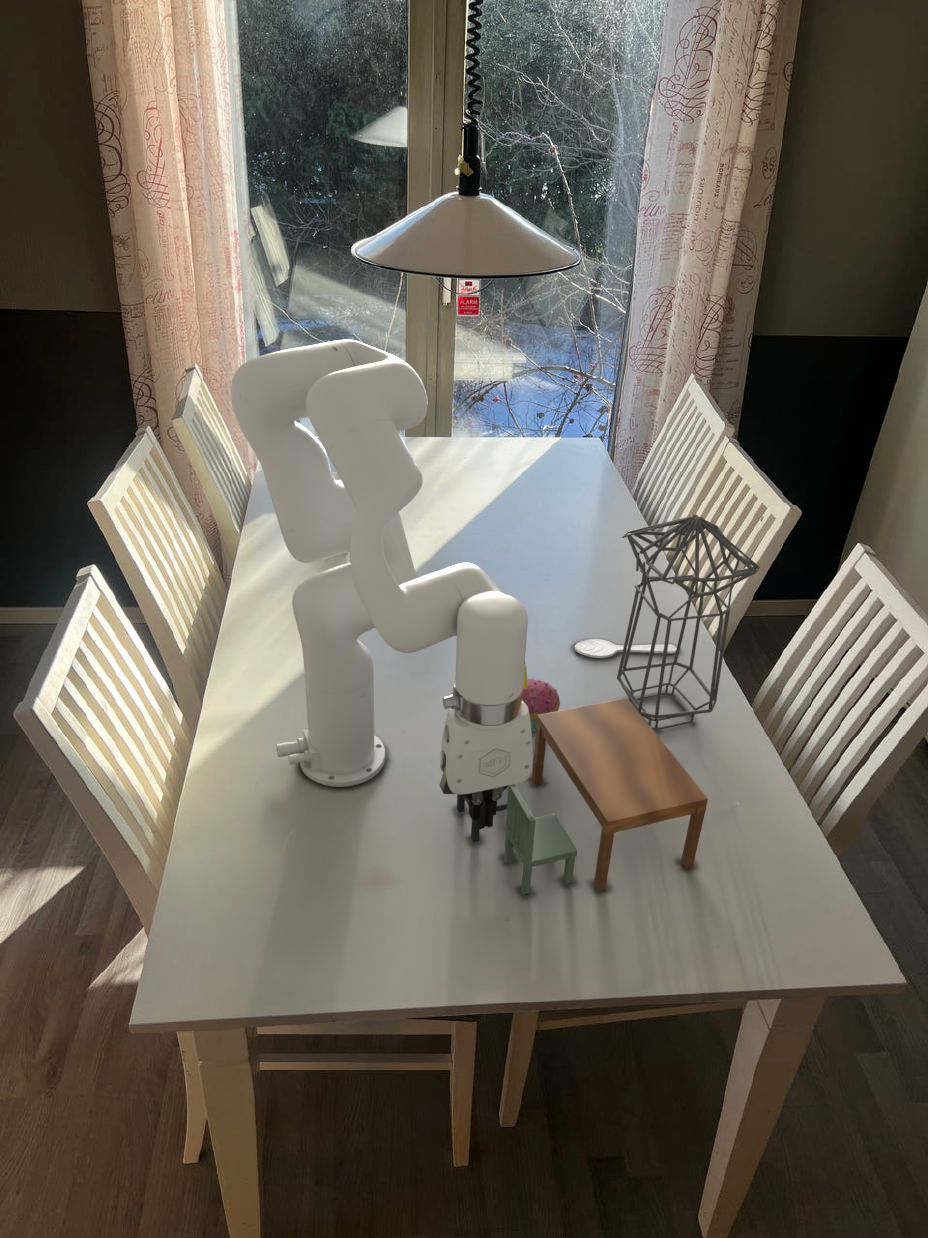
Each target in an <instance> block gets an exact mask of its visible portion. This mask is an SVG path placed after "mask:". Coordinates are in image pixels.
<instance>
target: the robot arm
mask: <svg viewBox="0 0 928 1238" xmlns="http://www.w3.org/2000/svg"><path fill="white" fill-rule="evenodd" d="M230 387H231V388H230V395H231V403H232V409H233V413H234V415H235V419H236V421H237V423H238V426H239V427H240V430H241V432H242V434H243V435H244V438H245V440H246V441H247V442H248V444H249V446H250V447H251V449H252V451H253V452H254V455H255V456H256V458H257V460H258V462H259V464H260V466H261V469H262V472H263V475H264V478H265V482H266V485H267V489H268V492H269V495H270V500H271V503H272V506H273V509H274V512H275V515H276V519H277V522H278V526H279V529H280V533H281V535H282V538H283V541H284V543H285V546H286V548H287V550H288V552H289V553H290V555H291V556H292V557H293V559H295V560H296V561H297V562H300V563H305V564H309V563H316V562H317V563H318V562H322V561H325V560H328V559H332V558H334V557H337V556H341V555H344V554H346V553H349V562H345V563H342V564H339V565H336V566H333V567H331V568H328V569H324V570H322V571H319V572H317V573H314V574H313V575H311V576H309V577H307V578H306V579H304V580H302V582H301V583H299V584H298V585H297V587H296V588H295V590H294V592H293V594H292V599H291V607H292V611H293V616H294V619H295V623H296V626H297V627H296V628H297V630H298V631H297V632H298V634H299V639H300V644H301V649H302V657H303V670H304V671H303V672H304V683H305V686H304V687H305V701H306V702H305V703H306V716H307V717H306V718H307V729H303V737H297V740H296V741H291V742H288V741H287V742H286V741H285V742H281V743H276V745H275V747H276V748H275V749H276V754H277V757H278V758H283V757H287V760H288V764H289V766H291V765H292V766H293V765H296V764H299V767H300V769H301V771H302V772H303V773H304V775H305V776H307V777H308V779H310V780H312V781H313V782H315V783H317V784H320V785H323V786H327V787H335V788H343V787H352V786H357V785H360V784H362V783H366V782H367V781H369V780H371V779H373V778H374V777H375V776H377V775H378V774H379V773H380V772H381V771H382V769H383V767H384V766H385V762H386V747H385V745H384V743H383V742H382V740H381V739H380V738H379V737H378V736H376V734H375V689H374V688H375V687H374V686H375V685H374V681H375V680H374V677H375V676H374V661H373V656H372V654H371V652H370V650H369V648H368V647H367V646H366V645H365V644H364V643H362V641H361V640H359V639H358V638H359V637H360V636H361V635H363V634H365V633H366V632H369V631H372V630H373V629H376V632H378V635H379V636H380V637H381V639H382V640H383V641H384V642H385V643H386V644H387V645H388V646H389V647H390V648H391V649H393V650H394V651H397V652H399V653H403V654H411V653H412V654H413V653H416V652H419V651H421V650H424V649H427V648H429V647H432V646H435V645H436V644H440V643H442V642H444V641H446V640H448V639H451V638H453V637H456V647H455V649H456V652H455V679H454V680H455V681H454V683H455V684H453V689H452V692H451V694H449V695H448V696H444V697H442V705H443V708H444V710H448V711H447V714H446V717H445V721H444V726H443V731H442V737H441V746H440V757H439V758H440V759H439V760H440V761H439V765H440V766H439V767H440V770H441V772H442V776H441V779H440V782H439V788H440V790H441V792H442V794H443V795H457V794H461V795H463V796H465V797H466V798H468V799H469V806H468V814H469V817H470V819H471V821H472V820H475V821H476V823H477V825H478V827H479V829H480V830H484V829H485V828H486V827H487V828H492V827H494V817H495V816H496V815H497V812H496V810H497V801H498V800H499V799H500V798H501V796H502V792H503V791H504V790H505V789H506V788H507V787H508V786H509V785H512V784H515V785H516V784H519V783H522V782H524V781H526V780H528V779H529V778H530V776H531V775H532V769H533V735H532V733H533V732H531V722H530V715H529V710H528V707H527V705H526V704H525V703H524V702H523V700H522V694H523V679H524V666H525V665H526V652H527V651H526V650H527V639H528V626H529V625H528V623H529V617H528V612H527V609H526V608H525V606H524V604H523V603H522V602H521V601H520V600H519V599H517V598H515V597H514V596H511V595H509V594H506V593H504V592H503V591H502V590H501V589H500V588H499V587H498V586H497V584H496V583H495V582H494V581H493V579H492V578H491V577H490V576H489V575H488V574H487V573H486V572H485V570H483V569H482V568H481V567H480V566H478V565H476V564H474V563H471V562H460V563H456V564H453V565H450V566H447V567H443V568H442V569H440V570H437V571H433V572H430V573H427V574H424V575H421V576H419V577H417V573H416V569H415V566H414V565H415V564H414V561H413V558H412V554H411V551H410V547H409V543H408V539H407V536H406V532H405V529H404V524H403V521H402V517H401V514H400V512H401V511H402V510H403V509H404V508H405V507H407V505H409V504H410V503H411V502H412V500H413V499H415V497H417V495H418V493H419V492H420V490H421V489H422V488H423V487H422V486H423V484H424V478H423V474H422V472H421V470H420V468H419V466H418V465H417V463H416V462H415V459H414V457H413V456H412V454H411V452H410V450H409V448H408V446H407V444H406V443H405V440H404V439H403V437H402V436H401V433H400V432H401V431H406V430H408V429H412V428H414V427H417V426H418V425H419V424H421V423H422V421H423V420H424V419H425V417H426V415H427V412H428V403H429V402H428V395H427V390H426V388H425V384H424V383H423V381H422V379H421V377H420V376H419V374H418V373H417V372H416V371H415V369H414V368H413V367H412V366H411V365H410V364H408V363H407V362H406V361H404V360H403V359H402V358H399V357H398V356H395V355H394V354H392V353H388V352H386V351H385V350H382V349H379V348H376V347H375V346H371V345H368V344H366V343H363V342H362V341H358V340H355V339H339V340H332V341H331V340H330V341H325V342H321V343H316V344H310V345H306V346H299V347H293V348H288V349H282V350H278V351H277V350H276V351H273V352H269V353H265V354H262V355H259V356H256V357H254V358H252V359H251V358H250V359H249V360H247V361H245V362H244V363H242V364H241V365H240V366H239V367H238V368H237V369H236V371H235V372H234V375H233V377H232V381H231V385H230ZM306 418H308V419H309V422H310V424H311V426H312V428H313V429H314V431H315V434H316V435H317V437H318V438H317V437H316V436H315V435H314V434H313V433H312V432H311V431H310V430H309V429H307V428H306V427H305V426H304V425H302V424H301V423H299V422H297V421H299V420H303V419H306ZM330 462H331V464H332V466H333V468H334V470H335V472H337V473H338V475H339V477H340V479H341V480H338V481H336V480H335V479H334V476H333V474H332V472H333V471H332V467H331V465H330Z"/></svg>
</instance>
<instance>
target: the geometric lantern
mask: <svg viewBox="0 0 928 1238" xmlns="http://www.w3.org/2000/svg"><path fill="white" fill-rule="evenodd" d="M671 526H672V527H671ZM666 527H671V528H669V529H667V530H665V531H656V530H657V529H661V528H666ZM652 530H655V531H652ZM705 530H706V531H707V532H708V533H709V534H710V535H711V536H713V537H714V539H716V540H717V541H718V545H719V549H720V553H721V557H722V561H720V562H719V563H718V564H717V565H716V563H715V560H714V557H713V554H712V551H711V549H710V545H709V542H708V539H707V537H706V533H705ZM646 536H660V537H658V538H657V539H656V540H654V541H653V540H652V539H649V538H647V537H646ZM700 536H701V539H702V543H703V546H704V548H705V552H706V554H707V558H708V560H709V563H710V567H711V569H712V570H710V572H709V573H707V575H705V576H704V577H700ZM635 537H637V538H638V539H640V540H642V541H643V542H645V543H648V545H647V546H645V547H643V545H641V544H640V543H639V542H638V541H637V540H636V538H635ZM621 538H622V539H624V538H627V540H628V542H629V546H630V547H631V550H632V552H633V555H634V557H635V559H636V564H635V565H636V566H635V571H636V572H640V573H641V574H642V576H641V580H640V581H641V582H639V583H638V584H635V585H634V588H635V593H634V598H633V602H632V606H631V611H630V615H629V620H628V625H627V629H626V634H625V638H624V643H623V645H624V648H623V652H621V657H620V661H619V665H618V671H617V675H616V680H617V681H618V682H619V684H620V686H621V687H622V689H623V691H624V692H625V694H626V696H627V698H628V699H629V701H630V702H631V703H632V704H633V706H634V707H635V708H636V709H637V711H638V712H639V713H640V714H641V716H642V717H643V718H644V719H647V720H648V722H647V723H648V724H649V726H650V727H651V728H652V729H653V731H659V730H663V729H669V728H674V727H679V726H683V725H689V724H692V723H694V718H695V715H700V714H708V713H712V712H713V711H714V708H715V707H716V704H717V700H718V694H719V693H718V692H719V686H720V678H721V672H722V671H721V670H722V667H723V659H724V653H725V646H726V640H727V634H728V627H729V620H730V614H731V601H732V593H733V586H734V585H736V584H738V583H740V582H742V581H743V580H745V579H747V578H750V577H752V576H753V575H756V574H757V573H758V572H759V570H760V569H761V566H760V565H759V564H757V563H756V562H755V561H754V560H753V559H752V558H750V556H748V555H747V554H746V553H744V551H742V550H741V549H740V548H738V547H737V545H735V544H734V543H733V542H732V541H731V540H729V539H728V538H727V537H726V536H725V533H724V532H722V530H721V529H720V528H719V525H717V524H715V523H713V522H711V521H709V520H706V519H705V518H704V517H703V516H699V515H698V514H694V513H693V514H692V516H686V517H682V518H678V519H677V518H676V519H673V520H669V521H665V522H661V523H656V524H653V525H649V526H644V527H640V528H636V529H631V530H628V531H626V532H625V533H624V534H622V536H621ZM667 538H668V539H667ZM676 538H677V541H676V545H675V547H672V546H671V547H669V545H670V544H671V543H672V542H673V541H674V540H675V539H676ZM666 539H667V540H666ZM664 540H666V541H665V542H664ZM693 541H695V542H694V546H695V547H694V566H693V564H692V561H690V559H689V558H688V556H687V552H688V549H689V546H690V544H691V543H692V542H693ZM663 542H664V543H663ZM636 547H637V548H638V549H637V548H636ZM653 547H655V548H657V549H656V550H655V551H654V552H653V553H652V554H651V555H650V556H649V554H648V553H647V552H648V550H650V549H652V548H653ZM725 549H726V550H727V551H728V554H726V550H725ZM638 550H639V552H638ZM662 551H664V552H674V554H673V555H672V557H671V559H670V561H669V563H668V565H667V566H666V568H665V570H664V572H661V571H660V570H659V569H658V567H656V566H655V565H654V564H655V562H656V560H657V559H658V556H659V555H660V553H662ZM680 553H682V556H681V559H680V561H679V564H678V566H677V569H676V572H675V574H674V576H668V575H669V573H670V571H671V570H672V567H673V566H674V564H675V562H676V560H677V559H678V557H679V556H680ZM640 555H643V558H644V559H645V561H642V560H641V557H640ZM731 556H733V557H734V559H735V560H736V563H735V565H734V568H733V567H732V566H731V564H730V563H729V561H730V559H731ZM684 559H685V560H686V561H687V563H688V565H689V566H690V568H691V570H692V571H693V574H694V575H693V574H687V575H678V574H679V572H680V570H681V566H682V565H683V562H684ZM740 562H741V563H742V564H743V565H744V566H745V568H741V569H738V567H739V564H740ZM646 565H647V566H648V568H647V570H646ZM723 565H725V567H726V568H727V570H728V572H730V574H728V575H722V576H720V575H719V573H718V572H719V571H718V570H719V569H720V568H721V567H722V566H723ZM651 571H653V572H654V573H656V575H650V572H651ZM712 575H714V577H711V576H712ZM734 578H735V579H734ZM671 580H672V581H671ZM726 580H730V582H728V583H725V584H724V585H721V586H720V587H718V588H717V586H718V582H721V581H726ZM652 582H665V583H667V584H670V585H674V584H675V585H677V586H678V587H680V588H682V589H683V590H685V591H686V592H688V597H687V600H686V601H685V602H684V603H683V604H682V605H681V606H679V607H678V608H677V609H675V611H673V612H672V613H671V614H670V615H666V614H664V613H662V612H660V610H659V606H658V604H657V601H656V597H655V593H654V591H653V588H652V585H651V583H652ZM685 582H691V585H690V587H689V586H688V585H686V584H685ZM699 582H700V583H702V584H701V591H700V592H699V593H698V589H699ZM708 582H709V583H711V582H713V588H712V587H711V586H710V584H709V583H708ZM641 587H642V588H641ZM706 587H707V588H708V590H707V591H706ZM728 588H729V594H728V603H726V602H725V601H724V600H723V599H722V598H721V596H720V595H719V594H718V593H720V592H722V591H724V590H725V589H728ZM647 589H648V592H649V595H650V598H651V602H652V604H651V602H650V601H649V600H648V598H647V597H646V596H645V593H646V590H647ZM712 595H713V598H714V600H715V603H716V607H717V610H718V613H709V614H702V611H703V605H704V598H705V597H708V596H712ZM694 598H695V599H697V598H699V602H698V609H697V615H690V616H689V612H690V607H691V603H692V600H693V599H694ZM644 601H645V603H646V604H647V605H648V607H649V608H650V610H651V611H652V612H653V614H654V615H655V616H656V621H655V626H654V631H653V635H652V641H651V644H652V645H651V644H650V645H651V650H650V653H649V656H648V660H647V664H645V665H637V666H630V667H627V666H628V662H629V658H630V654H631V652H630V650H631V646H632V645H633V642H634V638H635V633H636V630H637V625H638V621H639V618H640V614H641V610H642V605H643V602H644ZM637 603H638V604H637ZM721 604H722V605H723V606H724V608H726V609H724V610H723V608H722V605H721ZM684 607H685V611H684V615H683V616H682V617H673V616H675V615H676V614H677V613H678V612H679V611H681V609H682V608H684ZM724 616H725V617H724ZM712 617H719V618H718V620H719V621H718V625H717V626H718V627H717V636H716V642H715V643H716V644H715V651H714V658H713V659H714V660H713V667H712V676H711V683H710V684H711V685H710V689H708V687H707V686H706V684H705V683H704V682H703V681H702V679H701V678H700V676H699V675H698V673H696V671H695V670H694V668H693V667H694V661H695V655H696V648H697V641H698V636H699V629H700V623H701V619H702V618H703V619H704V618H712ZM661 619H664V620H665V621H667V624H666V630H665V638H664V643H663V644H664V651H663V653H662V660H661V662H660V663H653V664H652V662H653V657H654V654H655V653H654V649H655V644H657V638H658V633H659V629H660V623H661ZM694 619H695V620H696V622H695V628H694V633H693V640H692V648H691V653H690V660H689V665H687V664H684V663H682V662H679V661H678V658H679V654H680V650H681V646H682V642H683V639H684V638H683V637H684V633H685V629H686V625H687V620H694ZM675 621H682V624H681V628H680V632H679V637H678V641H677V646H676V648H677V649H676V653H674V657H673V661H670V662H667V656H668V653H667V649H668V644H669V643H670V642H669V641H670V634H671V627H672V622H675ZM723 623H724V624H723ZM722 630H723V631H722ZM627 645H628V648H627ZM626 649H627V652H626ZM669 666H671V667H670V672H669V677H668V681H667V682H664V677H665V670H666V667H669ZM675 666H678V667H681V668H683V669H685V670H684V672H683V673H682V674H681V675H680V676H679V677H678V679H677V680H676V681H675V682H674V684H673V683H671V682H672V677H673V672H674V669H675V668H674V667H675ZM653 668H660V674H659V681H658V684H655V685H649V686H647V684H648V681H649V677H650V671H651V669H653ZM637 670H645V674H644V677H643V682H642V687H640V688H636V689H633V687H632V685H631V682H630V680H629V678H628V676H627V674H626V672H629V671H631V672H632V671H637ZM689 671H690V673H691V674H692V675H693V677H694V679H696V681H697V682H698V683H699V685H700V686H701V688H703V691H704V692H705V693H706V694H707V696H708V697H709V699H708V701H707V702H705V703H702V704H700V705H699V706H697V707H695V706H694V704H693V703H692V702H691V701H690V700H689V699H688V698H687V696H685V694H684V693H682V691H681V690H680V689H679V688H678V687H677V685H678V684H679V682H681V680H682V679H683V678H684V677H685V675H686V674H688V672H689ZM622 676H623V677H624V680H625V682H626V684H627V685H626V684H625V682H624V681H623V679H622ZM669 686H670V687H672V689H671V692H668V690H669ZM663 687H665V690H664V691H663ZM656 688H658V689H657V693H654V694H650V695H646V690H650V689H656ZM662 691H663V692H662ZM675 691H676V692H677V693H678V694H679V695H680V696H681V697H682V698H683V699H684V700H685V702H686V703H687V704H688V705H689V706H690V708H692V709H693V710H688V708H686V706H685V705H684V704H683V703H682V702H681V701H680V699H678V697H677V696H676V695H675ZM636 692H637V693H638V692H641V693H640V697H636V696H635V695H634V694H635V693H636ZM662 696H670V697H673V699H674V700H675V701H676V703H678V705H680V707H681V708H682V709H683V710H684V711H679V712H671V713H670V712H669V713H662V714H659V713H660V705H661V700H662V699H661V697H662ZM651 698H656V703H655V711H654V712H655V713H651V712H647V711H646V709H645V708H644V706H643V704H644V701H645V699H651ZM707 705H708V708H706V709H702V708H704V707H705V706H707ZM686 716H689V717H690V720H686V721H682V722H677V723H671V724H667V725H662V726H659V722H660V721H666V720H670V719H675V718H680V717H681V718H682V717H686ZM652 722H655V724H654V727H652V726H651V725H652ZM658 726H659V727H658Z"/></svg>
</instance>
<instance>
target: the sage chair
mask: <svg viewBox="0 0 928 1238" xmlns="http://www.w3.org/2000/svg"><path fill="white" fill-rule="evenodd" d="M504 831H505V840H504V842H505V843H504V852H503V853H504V854H503V858H504V860H505V862H507V863H508V862H512V861H513V857H514V850H515V852H516V855H517V856H518V858H519V859H520V861H521V863H522V873H521V884H520V885H521V886H520V891H521V893H522V895H529V894H530V893H531V885H532V884H531V883H532V873H533V868H534V867H539V866H543V865H547V864H551V863H555V862H559V861H563V860H564V861H565V862H564V869H563V881H564V883H565V885H568V884H572V883H573V878H574V870H575V863H576V857H577V856H578V850H577V848H576V846H575V844H574V843H573V841H572V839H571V837H570V835H568V833H567V830H565V828H564V826H563V824H562V823H561V821H560V819H559V817H558V816H557V814H556V813H551V814H547V815H543V816H538V817H535V816H534V815H533V812H532V811H531V810H530V807H529V806H528V804H527V802H526V800H525V799H524V797H523V795H522V794H521V792H520V790H519V788H518V786H517V785H516V784H512V785H509V787H508V799H507V810H506V812H505V827H504Z"/></svg>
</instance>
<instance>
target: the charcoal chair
mask: <svg viewBox="0 0 928 1238" xmlns="http://www.w3.org/2000/svg"><path fill="white" fill-rule="evenodd" d="M508 787H509V786H508ZM508 787H507V788H506V789H505V790H504V791H503V792H502V796H501V798H500V799H499V800H498V801H497V810H496V813H497V812H502V811H507V799H508ZM466 804H467V806H468V807H469V799H468V798H466V797H465V796H463V795H461V794H456V811H457V812H458V813H459V814H460V813H464V812H465V810H466V809H465V808H466ZM480 833H481V829H479V827H478V825H477V823H476V821H475V820H472V819H471V829H470V840H471V841H472V843H476V842H480Z"/></svg>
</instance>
